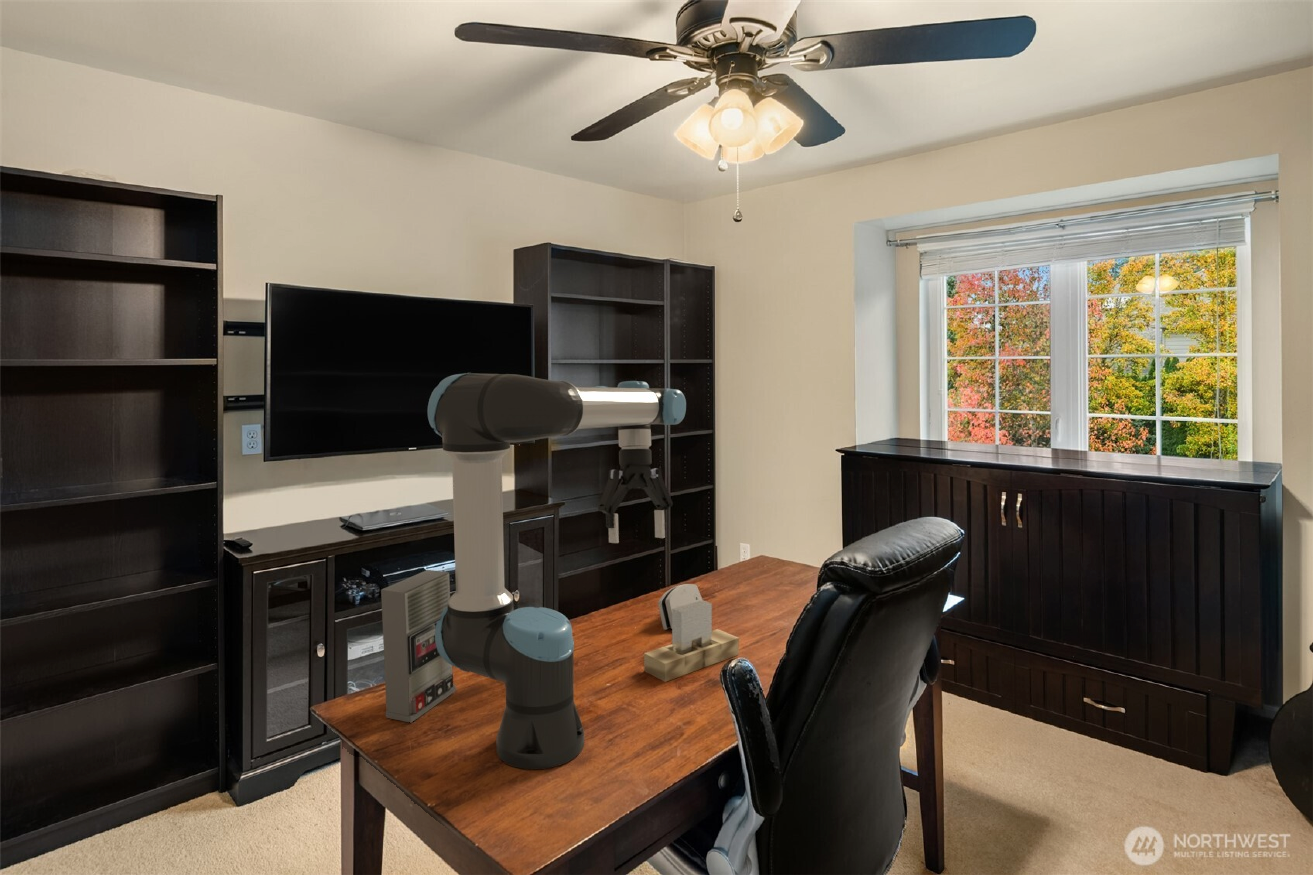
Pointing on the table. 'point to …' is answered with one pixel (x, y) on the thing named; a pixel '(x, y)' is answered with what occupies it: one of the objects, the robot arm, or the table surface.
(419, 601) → the cassette tape recorder
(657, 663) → the beige open box
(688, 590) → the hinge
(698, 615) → the grey notched block
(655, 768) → the table surface
